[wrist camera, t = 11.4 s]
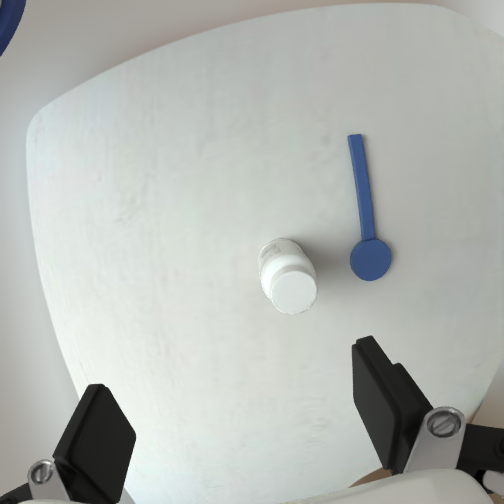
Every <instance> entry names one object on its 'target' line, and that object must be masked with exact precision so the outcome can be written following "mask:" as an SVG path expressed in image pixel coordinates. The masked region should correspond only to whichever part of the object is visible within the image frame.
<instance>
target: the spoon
mask: <svg viewBox="0 0 504 504" xmlns="http://www.w3.org/2000/svg"><path fill="white" fill-rule="evenodd" d="M348 141H349V147H350V153H351V159H352V165H353V171H354V177H355V184H356V191H357V199H358V206H359V214H360V223H361V232H362V239H363V240H362V241H360V242H359V243H358V244H357V245H356V246H355V247H354V249H353V251H352V253H351V257H350V264H351V268H352V270H353V272H354V273H355V274H356V275H357V276H358V277H359V278H361V279H362V280H365V281H373V280H377V279H379V278H380V277H382V276H383V275H384V274H385V273H386V272H387V270H388V268H389V266H390V263H391V253H390V250H389V248H388V246H387V245H386V244H385V243H384V242H382V241H380V240H379V239H376V238H375V232H374V222H373V213H372V204H371V196H370V188H369V181H368V174H367V167H366V161H365V155H364V149H363V143H362V137H361V134H357V135H349V136H348Z"/></svg>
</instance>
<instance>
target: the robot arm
mask: <svg viewBox="0 0 504 504" xmlns="http://www.w3.org/2000/svg"><path fill="white" fill-rule="evenodd" d="M1 2H2V0H0V8H1ZM352 366H353V398H354V402H355V405H356V408H357V410H358V412H359V414H360V416H361V419H362V421H363V423H364V425H365V427H366V430H367V432H368V434H369V436H370V439H371V441H372V443H373V445H374V448H375V450H376V452H377V454H378V457H379V459H380V461H381V463H382V466H383V468H384V469H385V470H388V469H390V471H391V473H392V476H391V477H387V478H384V479H380V480H377V481H373V482H369V483H366V484H362V485H359V486H355V487H352V488H348V489H344V490H341V491H337V492H333V493H328V494H324V495H320V496H315V497H311V498H306V499H301V500H296V501H290V502H285V503H279V504H494V503H493V502H492V500H491V498H490V497H489V496H488V494H492V493H497V494H500V495H502V496H503V497H502V499H504V429H501V428H493V427H486V426H479V425H473V424H467V423H466V419H465V417H464V415H463V414H462V413H461V412H460V411H459V410H457V409H456V408H453V407H438V408H435V409H434V408H433V407H432V405H431V404H430V403H429V401H428V400H427V398H426V397H425V396H424V394H423V393H422V391H421V390H420V389H419V387H418V386H417V384H416V383H415V382H414V380H413V379H412V377H411V376H410V375H409V373H408V372H407V371H406V369H405V368H404V367H403V365H402V364H401V363H396V364H392V363H391V361H390V360H389V359H388V357H387V356H386V354H385V353H384V352H383V350H382V349H381V347H380V346H379V345H378V343H377V342H376V340H375V339H374V338H373V336H367V337H364V338H360V339H357V340H356V344H354V345H352ZM135 441H136V433H135V431H134V429H133V428H132V426H131V425H130V423H129V421H128V420H127V418H126V417H125V415H124V413H123V412H122V410H121V409H120V407H119V405H118V403H117V402H116V400H115V398H114V397H113V395H112V393H111V391H110V390H109V388H108V387H105V385H103V384H90V385H88V387H87V389H86V390H85V392H84V394H83V396H82V398H81V400H80V402H79V404H78V406H77V407H76V410H75V412H74V413H73V415H72V417H71V419H70V421H69V423H68V425H67V427H66V429H65V431H64V433H63V435H62V437H61V439H60V441H59V443H58V445H57V447H56V449H55V451H54V454H53V458H54V459H55V461H54V463H53V462H52V461H50V460H41V461H38V462H36V463H35V464H33V465H32V466H31V467H30V469H29V471H28V475H27V477H28V483H26V484H24V485H22V486H20V487H18V488H16V489H14V490H12V491H10V492H8V493H6V494H4V495H3V496H1V497H0V504H116V503H118V502H119V501H120V497H121V494H122V490H123V486H124V482H125V478H126V474H127V470H128V467H129V463H130V459H131V456H132V452H133V448H134V445H135ZM398 473H400V474H399V475H396V474H398ZM393 475H396V476H393Z"/></svg>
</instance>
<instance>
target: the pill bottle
mask: <svg viewBox="0 0 504 504" xmlns="http://www.w3.org/2000/svg"><path fill="white" fill-rule="evenodd" d="M258 268H259V273H260V278H261V283H262V287H263V290H264V292H265V294H266V296H267V297H268V298H269V299H270V300H272V302H273V304H274V306H275V307H276V308H277V309H278V310H279V311H281V312H283V313H286V314H299V313H302V312H304V311H306V310H308V309H309V308H310V307H311V306H312V305H313V304H314V302H315V300H316V298H317V293H318V288H317V284H316V274H315V270H314V267H313V265H312V264H311V262H310V260H309V259H308V258H307V256H306V255H305V253H304V252H303V251H302V249H301V248H300V247H299V246H298V245H297V244H296V243H295V242H293V241H291V240H287V239H277V240H273V241H271V242H269V243H268V244H267V245H265V246H264V247H263V249H262V250H261V252H260V254H259V257H258Z"/></svg>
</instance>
